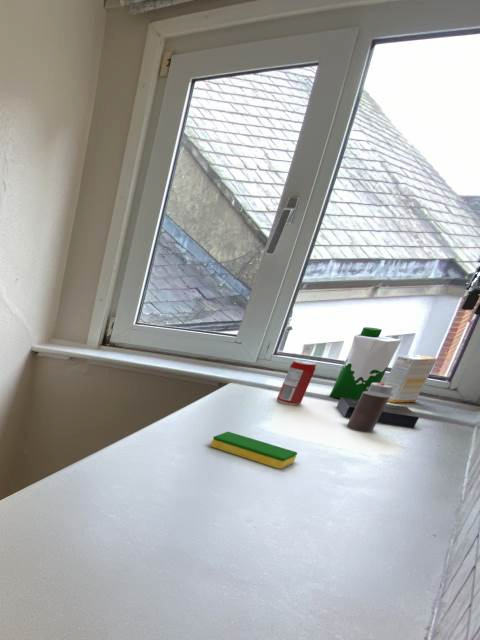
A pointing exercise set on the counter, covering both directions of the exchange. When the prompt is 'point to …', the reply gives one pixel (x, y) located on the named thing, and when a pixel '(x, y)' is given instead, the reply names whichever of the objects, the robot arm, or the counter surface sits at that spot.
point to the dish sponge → (254, 449)
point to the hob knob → (381, 388)
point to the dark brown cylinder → (368, 411)
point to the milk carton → (364, 363)
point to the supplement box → (409, 377)
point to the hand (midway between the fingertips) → (472, 312)
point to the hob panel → (388, 415)
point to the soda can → (296, 382)
